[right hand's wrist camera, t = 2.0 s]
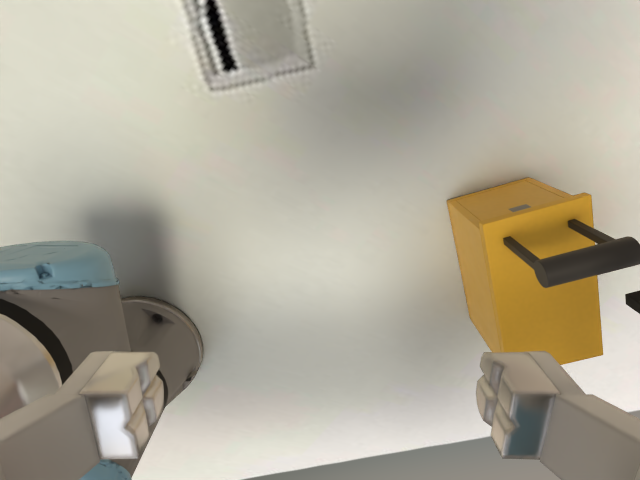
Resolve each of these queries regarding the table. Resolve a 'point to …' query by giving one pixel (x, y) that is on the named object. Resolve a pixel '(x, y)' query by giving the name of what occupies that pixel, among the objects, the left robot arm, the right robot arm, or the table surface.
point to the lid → (551, 277)
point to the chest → (470, 246)
